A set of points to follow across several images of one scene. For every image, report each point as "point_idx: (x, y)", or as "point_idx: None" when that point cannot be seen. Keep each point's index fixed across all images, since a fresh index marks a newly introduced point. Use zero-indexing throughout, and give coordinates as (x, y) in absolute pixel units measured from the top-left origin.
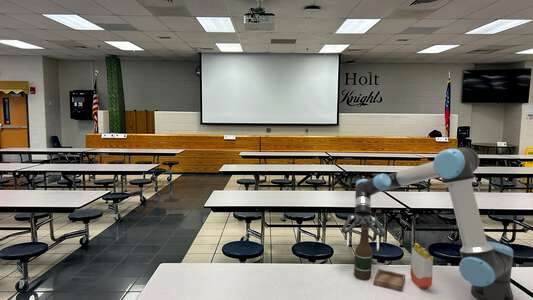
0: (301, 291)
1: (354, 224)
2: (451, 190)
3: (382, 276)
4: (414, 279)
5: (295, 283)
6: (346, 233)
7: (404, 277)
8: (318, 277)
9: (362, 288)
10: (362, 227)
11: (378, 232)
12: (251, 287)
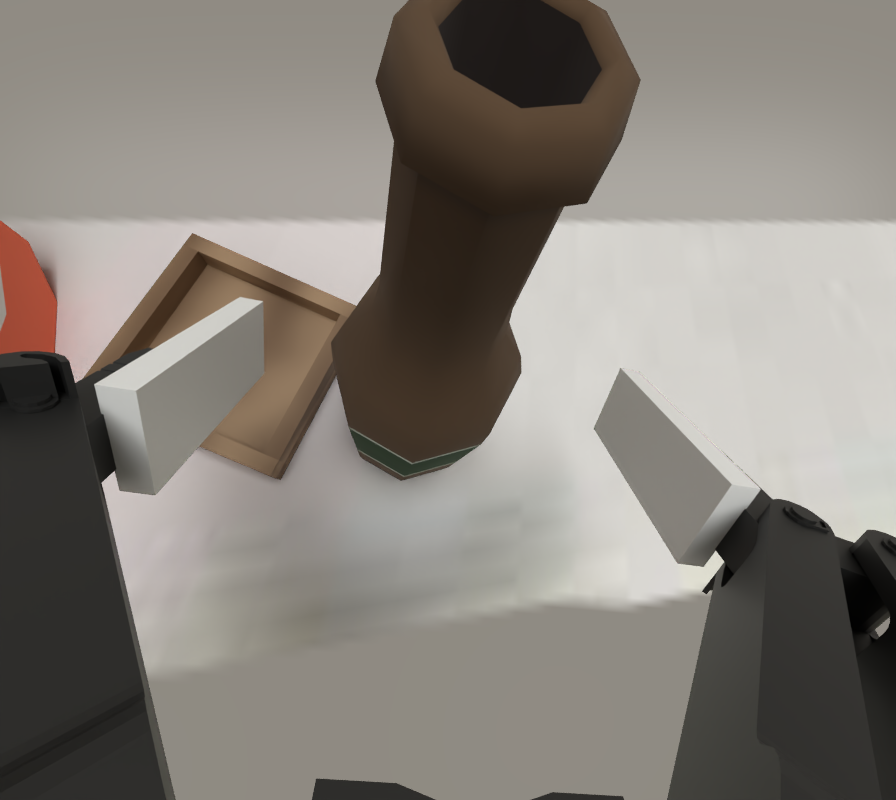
0: (726, 252)
1: (778, 701)
2: None
3: (269, 405)
4: (30, 348)
5: (766, 319)
6: (751, 501)
7: (107, 348)
8: (669, 390)
9: None
10: (612, 26)
11: (28, 438)
12: None
